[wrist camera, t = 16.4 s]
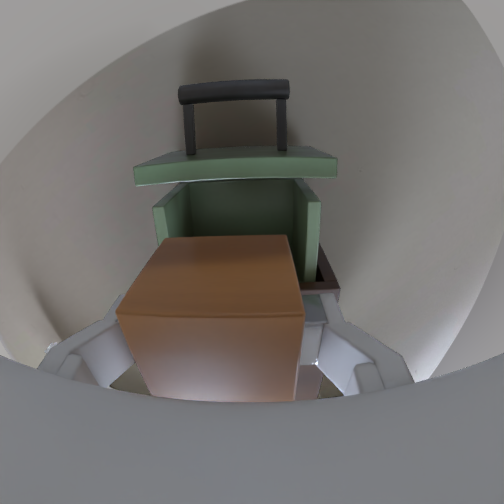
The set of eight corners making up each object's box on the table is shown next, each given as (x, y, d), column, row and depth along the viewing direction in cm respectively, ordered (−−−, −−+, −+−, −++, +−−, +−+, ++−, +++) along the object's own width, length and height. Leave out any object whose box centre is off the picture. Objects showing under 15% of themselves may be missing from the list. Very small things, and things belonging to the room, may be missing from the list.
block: (164, 236, 10) (112, 311, 6) (287, 233, 10) (306, 313, 6) (182, 329, 12) (158, 411, 8) (283, 329, 12) (292, 417, 8)
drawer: (167, 96, 19) (126, 86, 12) (310, 89, 19) (337, 72, 12) (190, 298, 28) (172, 353, 21) (304, 296, 28) (317, 352, 20)
